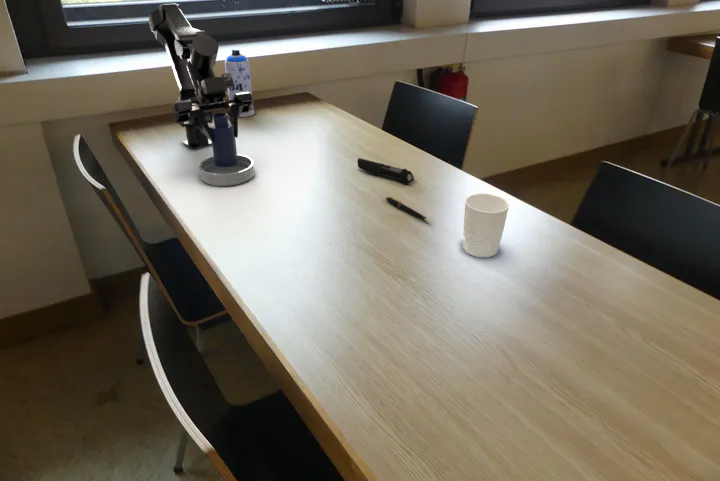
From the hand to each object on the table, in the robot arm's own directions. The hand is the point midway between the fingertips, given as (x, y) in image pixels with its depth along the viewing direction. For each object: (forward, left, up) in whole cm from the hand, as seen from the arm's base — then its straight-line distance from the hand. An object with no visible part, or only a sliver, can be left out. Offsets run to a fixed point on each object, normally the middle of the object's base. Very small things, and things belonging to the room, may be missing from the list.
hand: (224, 138), depth 126 cm
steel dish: (-1, 0, -10) cm, 10 cm away
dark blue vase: (-1, 0, -7) cm, 7 cm away
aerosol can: (-43, +29, -10) cm, 53 cm away
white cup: (+61, +21, -10) cm, 65 cm away
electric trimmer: (+24, +30, -10) cm, 40 cm away
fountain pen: (+41, +21, -10) cm, 47 cm away
